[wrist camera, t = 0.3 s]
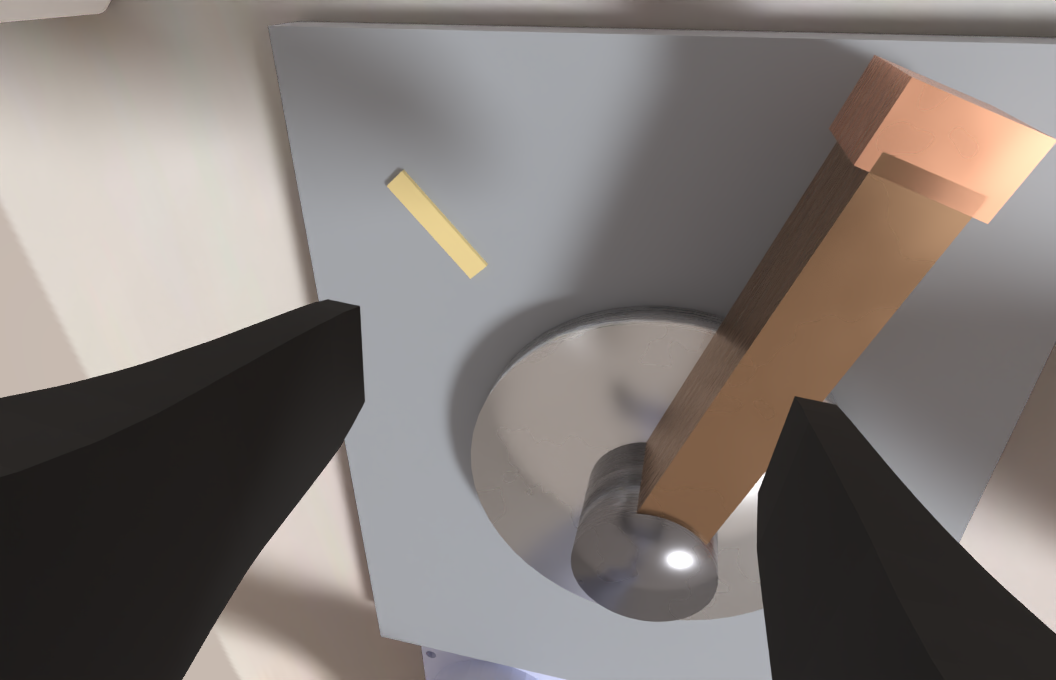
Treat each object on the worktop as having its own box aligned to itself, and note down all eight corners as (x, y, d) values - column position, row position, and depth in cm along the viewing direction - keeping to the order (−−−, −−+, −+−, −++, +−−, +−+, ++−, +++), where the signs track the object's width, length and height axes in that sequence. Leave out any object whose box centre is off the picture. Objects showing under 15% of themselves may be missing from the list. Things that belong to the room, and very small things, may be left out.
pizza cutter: (729, 636, 25) (732, 755, 21) (442, 506, 25) (396, 601, 21) (1172, 181, 14) (1333, 260, 10) (667, -37, 14) (652, -35, 11)
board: (853, 712, 27) (860, 752, 26) (394, 609, 32) (379, 639, 30) (1154, 39, 14) (1202, 48, 13) (297, 21, 19) (264, 26, 17)
